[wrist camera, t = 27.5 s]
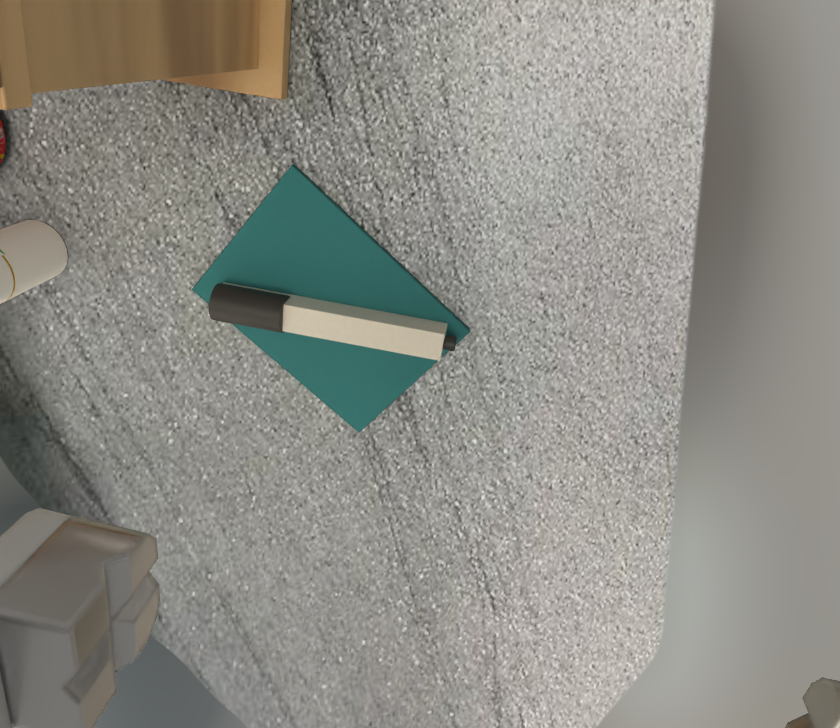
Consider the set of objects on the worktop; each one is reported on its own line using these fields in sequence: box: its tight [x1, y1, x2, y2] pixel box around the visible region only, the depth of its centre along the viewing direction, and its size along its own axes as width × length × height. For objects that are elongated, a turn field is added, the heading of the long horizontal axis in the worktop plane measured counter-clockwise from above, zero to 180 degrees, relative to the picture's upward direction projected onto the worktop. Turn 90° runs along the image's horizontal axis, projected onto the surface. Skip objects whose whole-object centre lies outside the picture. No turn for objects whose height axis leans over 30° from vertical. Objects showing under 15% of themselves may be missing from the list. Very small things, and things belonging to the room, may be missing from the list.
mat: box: [192, 165, 470, 432], centre depth 47 cm, size 16×12×1 cm
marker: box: [209, 282, 457, 361], centre depth 46 cm, size 17×3×3 cm, turn 82°
